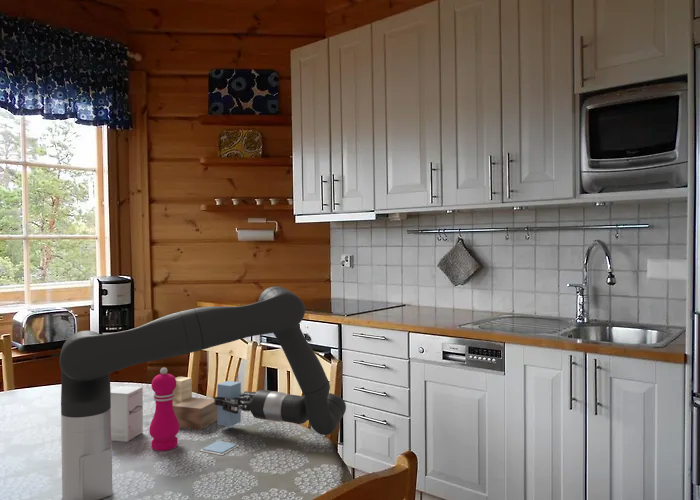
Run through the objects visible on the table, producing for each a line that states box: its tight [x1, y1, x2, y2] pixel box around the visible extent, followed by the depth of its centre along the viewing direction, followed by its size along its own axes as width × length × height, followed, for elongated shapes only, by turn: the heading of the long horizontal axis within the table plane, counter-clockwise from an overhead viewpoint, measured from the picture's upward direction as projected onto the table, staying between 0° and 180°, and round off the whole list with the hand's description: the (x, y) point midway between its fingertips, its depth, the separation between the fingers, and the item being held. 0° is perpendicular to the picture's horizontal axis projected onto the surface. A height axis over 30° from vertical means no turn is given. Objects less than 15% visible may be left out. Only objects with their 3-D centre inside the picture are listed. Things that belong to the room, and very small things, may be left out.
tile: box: [199, 440, 240, 456], centre depth 141 cm, size 7×7×1 cm
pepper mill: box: [149, 367, 180, 452], centre depth 142 cm, size 7×7×20 cm
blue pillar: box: [216, 380, 242, 427], centre depth 155 cm, size 4×4×11 cm
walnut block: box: [173, 396, 217, 430], centre depth 161 cm, size 9×9×6 cm
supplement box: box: [110, 385, 144, 443], centre depth 150 cm, size 7×7×13 cm
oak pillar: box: [173, 376, 193, 406], centre depth 168 cm, size 4×4×11 cm
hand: (221, 398), depth 156 cm, fingers closed on blue pillar, 4 cm apart
